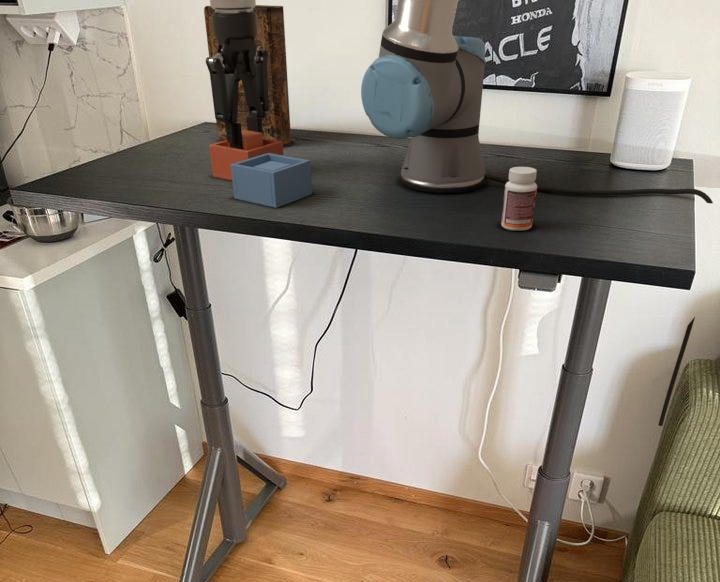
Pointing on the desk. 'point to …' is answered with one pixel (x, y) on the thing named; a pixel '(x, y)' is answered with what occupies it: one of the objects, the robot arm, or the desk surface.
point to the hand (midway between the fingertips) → (247, 157)
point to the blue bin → (271, 180)
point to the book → (274, 43)
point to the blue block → (272, 166)
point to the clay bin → (238, 155)
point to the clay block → (251, 140)
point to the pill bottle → (519, 199)
